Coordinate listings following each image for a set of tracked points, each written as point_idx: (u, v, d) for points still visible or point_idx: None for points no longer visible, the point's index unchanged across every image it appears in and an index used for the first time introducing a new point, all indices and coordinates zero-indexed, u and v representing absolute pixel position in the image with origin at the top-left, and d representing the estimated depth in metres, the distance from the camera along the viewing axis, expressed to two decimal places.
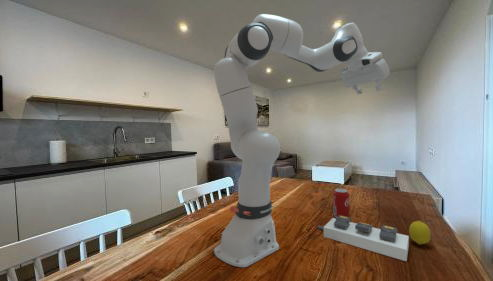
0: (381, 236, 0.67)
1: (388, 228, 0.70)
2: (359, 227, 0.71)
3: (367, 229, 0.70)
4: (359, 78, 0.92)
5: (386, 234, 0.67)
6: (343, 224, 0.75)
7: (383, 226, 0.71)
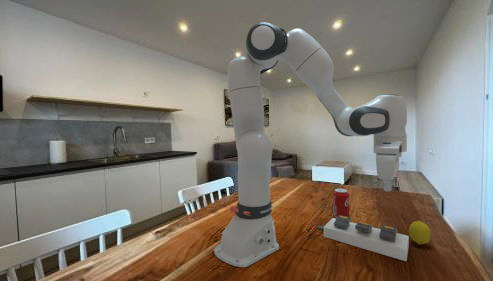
0: (381, 236, 0.67)
1: (388, 228, 0.70)
2: (359, 227, 0.71)
3: (367, 229, 0.70)
4: None
5: (386, 234, 0.67)
6: (343, 224, 0.75)
7: (383, 226, 0.71)
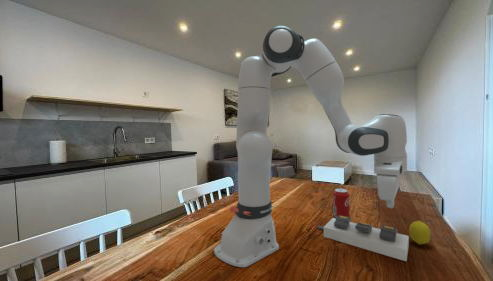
0: (381, 236, 0.67)
1: (388, 228, 0.70)
2: (359, 227, 0.71)
3: (367, 229, 0.70)
4: None
5: (386, 234, 0.67)
6: (343, 224, 0.75)
7: (383, 226, 0.71)
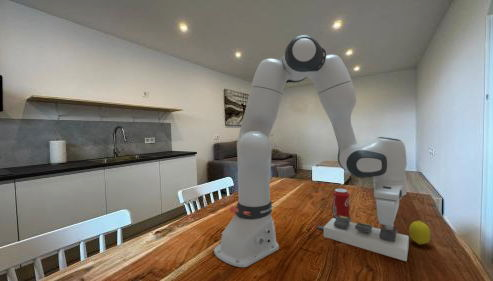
0: (381, 236, 0.67)
1: None
2: (359, 227, 0.71)
3: (367, 229, 0.70)
4: None
5: (386, 234, 0.67)
6: (343, 224, 0.75)
7: (383, 226, 0.71)
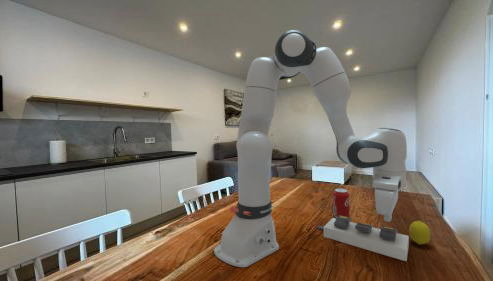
0: (381, 235, 0.67)
1: (388, 228, 0.70)
2: (359, 227, 0.71)
3: (367, 229, 0.70)
4: None
5: (386, 233, 0.67)
6: (343, 224, 0.75)
7: (383, 226, 0.71)
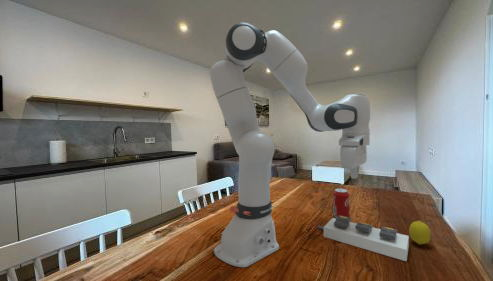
0: (381, 234, 0.67)
1: (388, 229, 0.70)
2: (359, 227, 0.71)
3: (367, 229, 0.70)
4: None
5: (386, 233, 0.67)
6: (343, 224, 0.75)
7: (383, 227, 0.71)
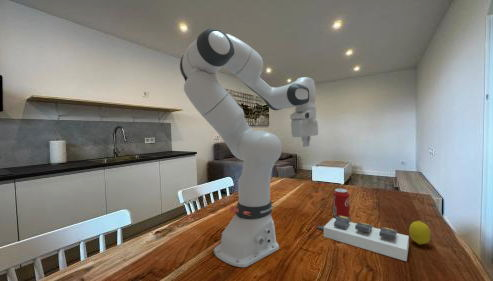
0: (381, 234, 0.67)
1: (388, 229, 0.70)
2: (359, 227, 0.71)
3: (367, 229, 0.70)
4: None
5: (386, 232, 0.67)
6: (343, 224, 0.75)
7: (383, 227, 0.71)
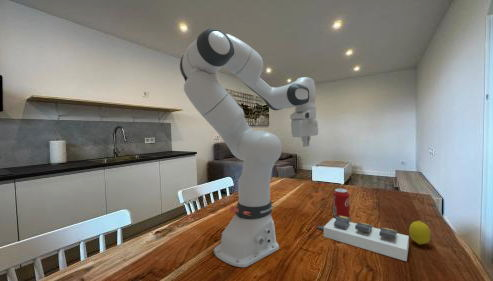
0: (381, 233, 0.67)
1: (388, 229, 0.70)
2: (359, 227, 0.71)
3: (367, 229, 0.70)
4: None
5: (386, 232, 0.67)
6: (343, 224, 0.75)
7: (383, 228, 0.71)
